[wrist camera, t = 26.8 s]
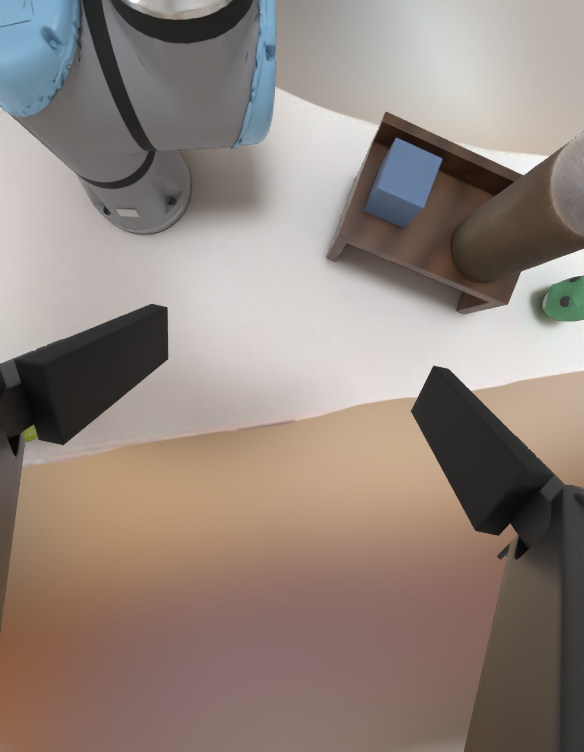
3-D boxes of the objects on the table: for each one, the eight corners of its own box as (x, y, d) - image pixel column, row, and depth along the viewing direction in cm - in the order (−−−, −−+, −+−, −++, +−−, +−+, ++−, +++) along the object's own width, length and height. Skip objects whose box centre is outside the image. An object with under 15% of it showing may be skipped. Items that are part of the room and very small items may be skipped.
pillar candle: (467, 295, 38) (592, 255, 23) (438, 230, 37) (548, 145, 22) (527, 263, 38) (689, 203, 23) (500, 198, 37) (650, 92, 22)
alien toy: (537, 276, 48) (606, 254, 38) (573, 294, 48) (650, 278, 38) (520, 313, 48) (584, 301, 38) (556, 330, 49) (628, 324, 39)
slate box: (363, 211, 36) (377, 187, 31) (379, 167, 36) (396, 137, 31) (403, 228, 37) (423, 208, 32) (419, 185, 37) (442, 158, 32)
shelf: (326, 258, 45) (344, 222, 33) (356, 176, 45) (385, 111, 33) (464, 314, 47) (527, 300, 36) (494, 237, 47) (569, 196, 35)
